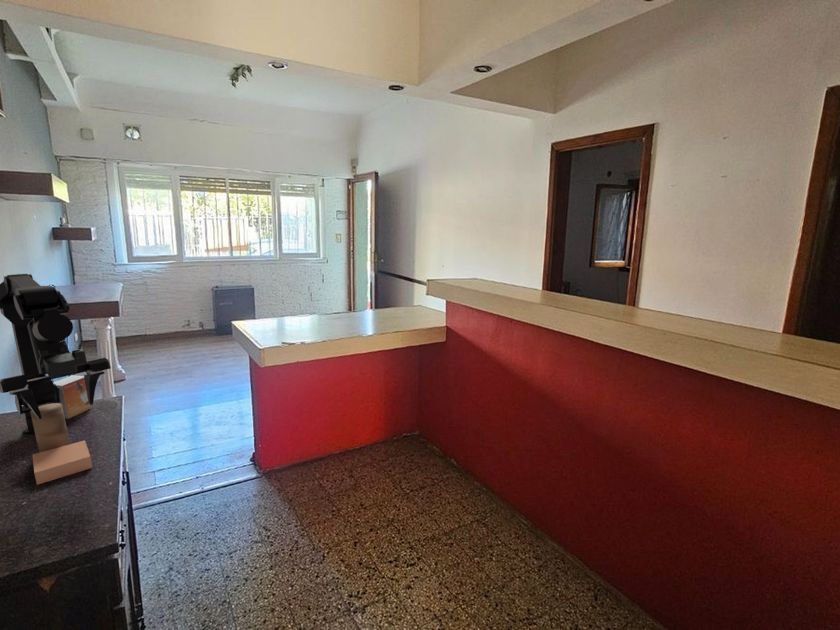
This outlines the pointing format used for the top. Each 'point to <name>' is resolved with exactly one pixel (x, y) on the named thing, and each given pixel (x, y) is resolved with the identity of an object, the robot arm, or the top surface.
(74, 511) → the top surface
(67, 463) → the terracotta plinth
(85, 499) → the top surface
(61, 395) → the small box
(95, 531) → the top surface
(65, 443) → the beige tall cylinder
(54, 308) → the robot arm
